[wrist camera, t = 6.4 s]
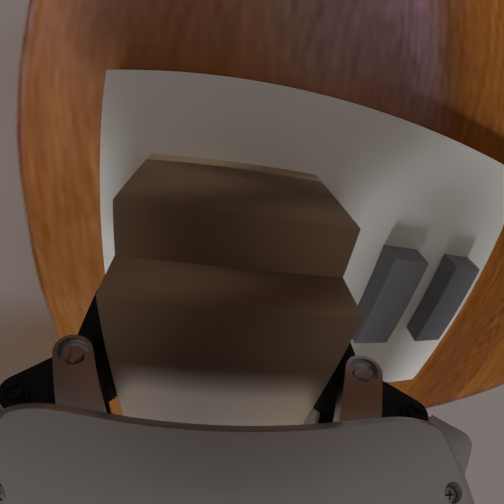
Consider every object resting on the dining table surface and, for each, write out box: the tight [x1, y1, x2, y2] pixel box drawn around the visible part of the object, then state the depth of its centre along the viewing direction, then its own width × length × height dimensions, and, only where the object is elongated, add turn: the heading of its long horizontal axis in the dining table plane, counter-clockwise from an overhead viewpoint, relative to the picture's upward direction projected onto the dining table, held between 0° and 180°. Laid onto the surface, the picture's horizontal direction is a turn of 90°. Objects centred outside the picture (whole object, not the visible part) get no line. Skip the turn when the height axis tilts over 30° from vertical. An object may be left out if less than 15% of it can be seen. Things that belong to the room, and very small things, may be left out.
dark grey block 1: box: [352, 245, 429, 343], centre depth 14 cm, size 2×5×1 cm, turn 170°
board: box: [100, 70, 504, 382], centre depth 15 cm, size 20×16×2 cm
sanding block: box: [96, 153, 363, 426], centre depth 11 cm, size 6×10×6 cm, turn 170°
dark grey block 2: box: [406, 254, 480, 341], centre depth 15 cm, size 2×5×1 cm, turn 170°
